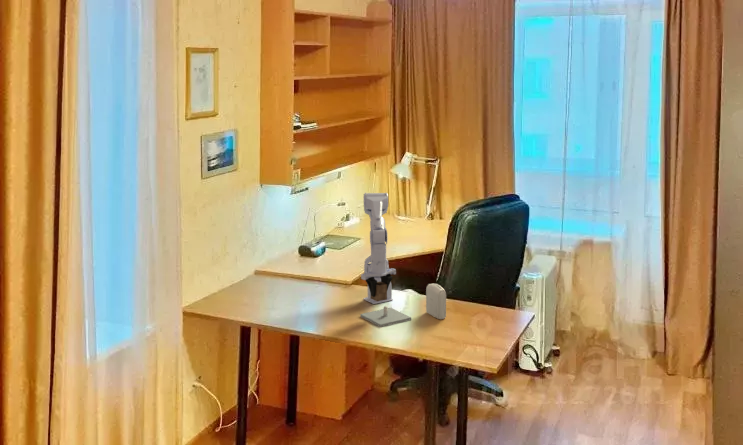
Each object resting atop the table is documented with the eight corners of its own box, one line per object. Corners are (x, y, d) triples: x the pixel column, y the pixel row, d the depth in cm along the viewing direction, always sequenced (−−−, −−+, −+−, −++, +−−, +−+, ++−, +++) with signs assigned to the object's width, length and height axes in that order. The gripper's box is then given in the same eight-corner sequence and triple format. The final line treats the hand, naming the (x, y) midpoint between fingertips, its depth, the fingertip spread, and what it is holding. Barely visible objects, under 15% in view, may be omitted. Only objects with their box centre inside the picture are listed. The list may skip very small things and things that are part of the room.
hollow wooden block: (380, 296, 325) (380, 281, 323) (386, 299, 321) (386, 284, 320) (370, 298, 322) (370, 283, 321) (377, 301, 319) (376, 286, 317)
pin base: (390, 309, 331) (390, 298, 330) (411, 319, 320) (411, 307, 319) (360, 316, 324) (360, 304, 323) (380, 327, 313) (380, 314, 311)
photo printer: (424, 312, 329) (424, 281, 326) (434, 310, 330) (434, 280, 328) (437, 320, 320) (438, 289, 317) (447, 318, 321) (448, 287, 319)
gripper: (368, 265, 311) (368, 300, 314) (400, 260, 319) (400, 294, 322) (358, 261, 317) (358, 296, 320) (390, 255, 324) (390, 289, 328)
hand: (378, 294), depth 321 cm, fingers closed on hollow wooden block, 4 cm apart
